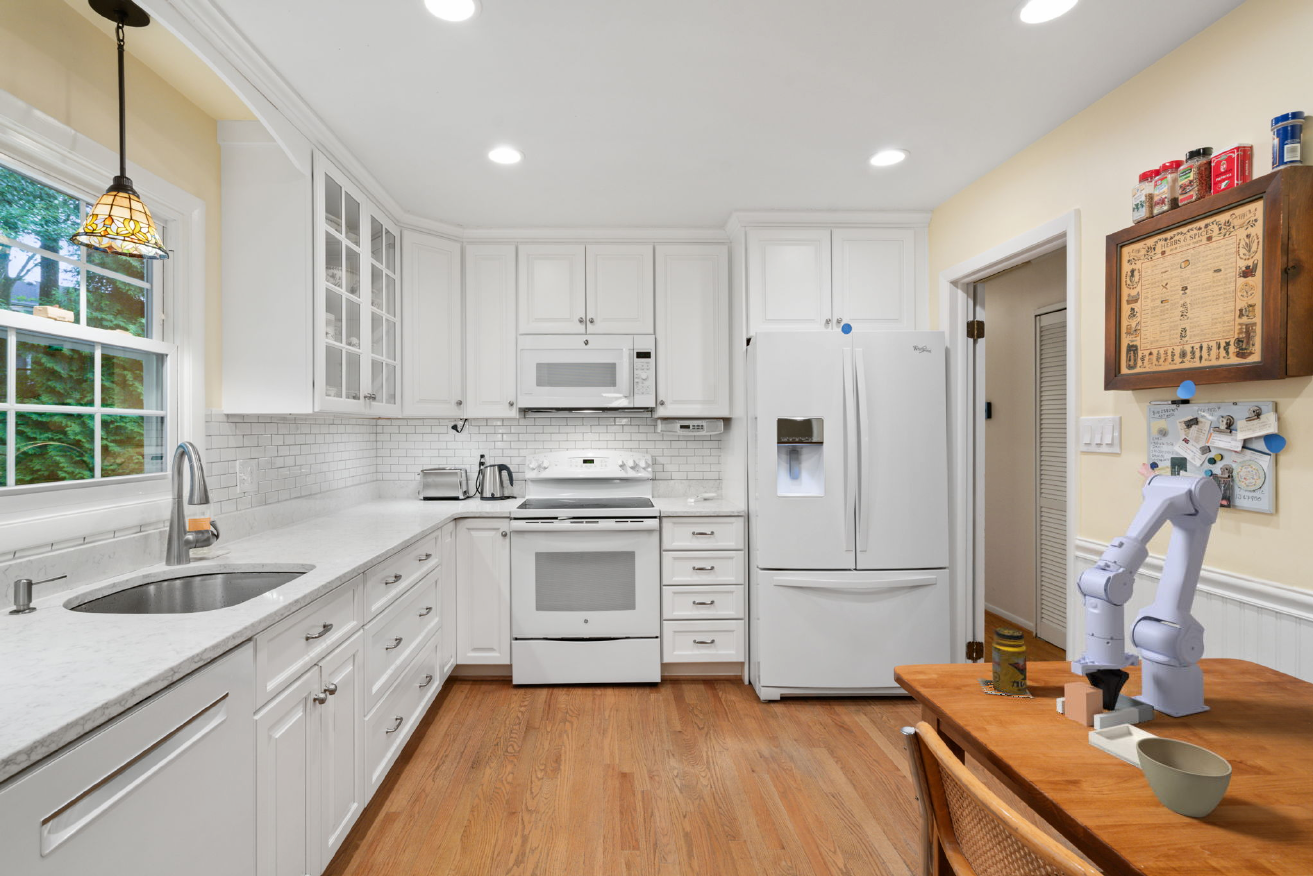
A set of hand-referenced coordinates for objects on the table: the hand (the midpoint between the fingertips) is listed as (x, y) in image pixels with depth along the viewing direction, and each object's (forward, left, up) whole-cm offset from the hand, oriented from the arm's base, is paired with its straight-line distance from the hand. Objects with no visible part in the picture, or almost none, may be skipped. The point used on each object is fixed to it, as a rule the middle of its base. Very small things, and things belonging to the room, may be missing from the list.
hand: (1106, 708), depth 110 cm
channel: (+2, 0, -1) cm, 3 cm away
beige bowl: (+18, +23, -2) cm, 29 cm away
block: (+6, 0, -1) cm, 6 cm away
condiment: (+8, -15, -2) cm, 17 cm away
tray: (+9, +11, -1) cm, 14 cm away
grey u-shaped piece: (-4, 0, -1) cm, 5 cm away
